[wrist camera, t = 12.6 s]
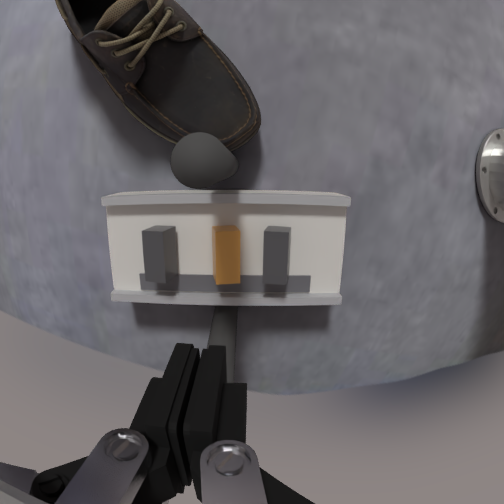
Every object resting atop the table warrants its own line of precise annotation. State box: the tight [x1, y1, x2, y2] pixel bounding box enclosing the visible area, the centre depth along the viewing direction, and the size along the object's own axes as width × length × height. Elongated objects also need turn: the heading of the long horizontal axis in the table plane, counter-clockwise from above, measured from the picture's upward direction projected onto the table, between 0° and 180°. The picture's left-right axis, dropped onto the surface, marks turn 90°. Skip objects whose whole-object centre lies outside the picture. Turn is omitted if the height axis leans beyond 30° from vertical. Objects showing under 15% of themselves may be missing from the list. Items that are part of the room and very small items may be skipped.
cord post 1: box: [171, 132, 238, 189], centre depth 21 cm, size 2×2×18 cm
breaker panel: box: [101, 190, 351, 306], centre depth 29 cm, size 22×10×5 cm, turn 89°
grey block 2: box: [262, 226, 291, 285], centre depth 27 cm, size 2×4×2 cm, turn 179°
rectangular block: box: [212, 225, 240, 285], centre depth 26 cm, size 2×4×2 cm, turn 0°
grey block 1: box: [142, 225, 178, 284], centre depth 26 cm, size 2×4×2 cm, turn 179°
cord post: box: [207, 305, 238, 383], centre depth 25 cm, size 2×2×18 cm
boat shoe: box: [55, 0, 261, 152], centre depth 22 cm, size 11×29×11 cm, turn 44°
